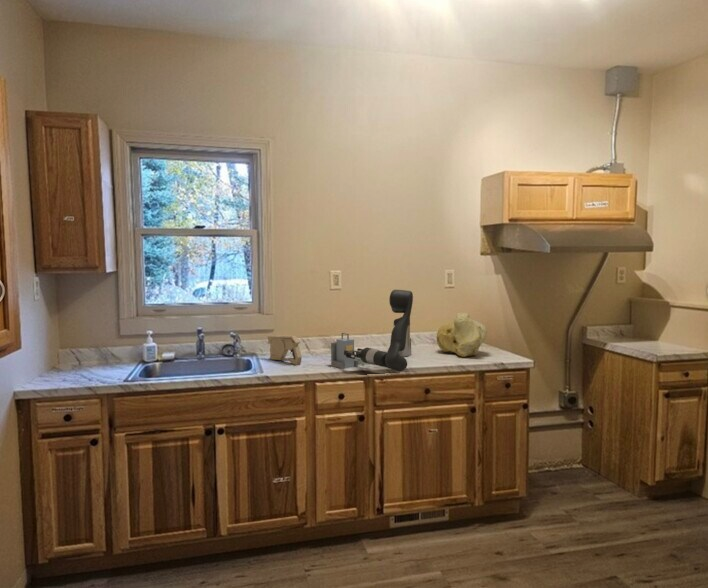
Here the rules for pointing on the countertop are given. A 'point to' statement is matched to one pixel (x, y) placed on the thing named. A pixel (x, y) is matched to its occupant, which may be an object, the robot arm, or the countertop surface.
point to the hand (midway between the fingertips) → (351, 351)
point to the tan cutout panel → (284, 348)
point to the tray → (361, 362)
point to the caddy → (341, 347)
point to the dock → (334, 359)
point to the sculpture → (461, 335)
